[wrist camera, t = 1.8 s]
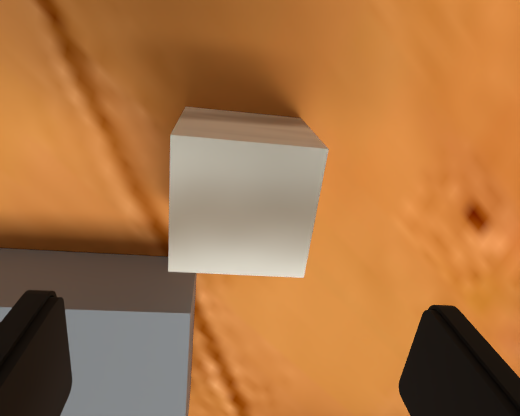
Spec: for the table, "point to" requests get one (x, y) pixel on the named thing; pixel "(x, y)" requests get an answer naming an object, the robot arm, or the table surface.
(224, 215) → the cream cube
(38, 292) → the robot arm
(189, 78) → the table surface
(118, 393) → the base block
